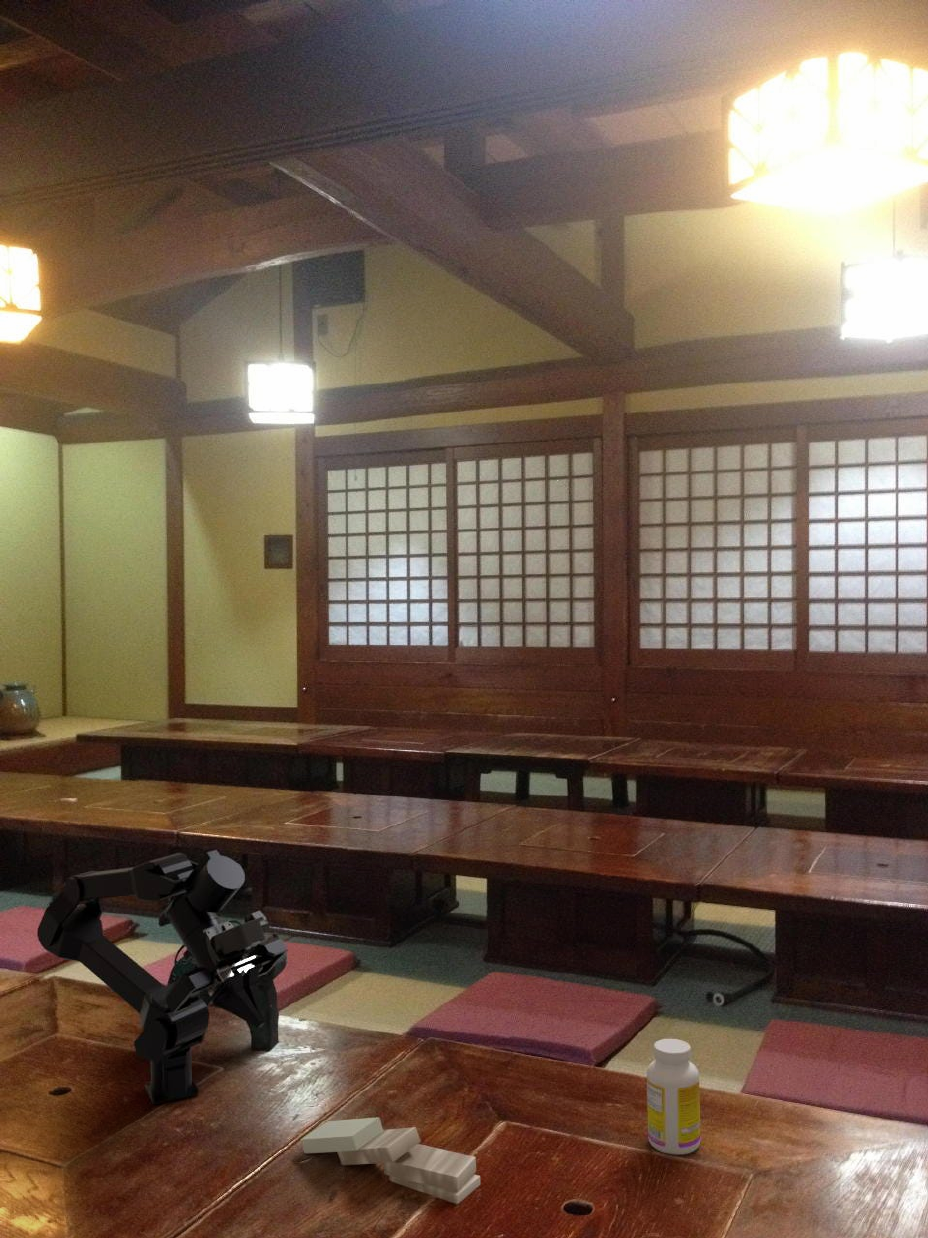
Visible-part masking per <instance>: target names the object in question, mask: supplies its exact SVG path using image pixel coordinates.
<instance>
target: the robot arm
mask: <svg viewBox="0 0 928 1238" xmlns="http://www.w3.org/2000/svg"><path fill="white" fill-rule="evenodd" d="M245 875H246V874H245V870H244V869H243V868H242V866H241V864H239V863H237V862H236V860H234V859H232V858H230V857H228V856H226V855H221V854H220V852H218V850H217V849H213V850H210V851H207V852H204V854H203V855H202V856H201V858H200V861H199V862H195V861H192V860H190V859H189V858H188V856H187V854H185V853H183V852H177V853H173V854H170V855H166V856H162V857H160V858H159V857H158V858H157V859H156V858H155V859H152V860H149V861H145V862H143V863H141V864H138V865H136V866H134V867H133V866H132V867H125V868H118V869H111V870H103V871H102V870H99V871H96V870H90V871H88V872H83V873H79V874H76V875H73V876H70V878H69V879H67V880H66V881H65V883H64V885H63V887H62V890H61V892H60V893H59V894H58V895H57V896H56V897H55V898H54V900H53V901H52V902H51V903H50V904H49V905H48V906H47V907H46V909H45V910H44V912H43V915H42V918H41V920H40V922H39V925H38V927H37V931H36V932H37V938H38V942H39V943H40V945H41V946H42V948H43V949H44V950H46V951H47V952H49V953H50V954H52V955H54V956H56V957H57V958H59V959H63V960H68V961H73V962H79V963H81V964H82V965H83V966H84V967H86V969H88V970H89V971H90V972H91V973H93V974H94V975H95V976H96V977H97V978H98V979H99V980H101V981H102V982H103V983H104V984H105V985H106V986H107V987H109V988H110V989H111V990H112V991H113V992H115V993H116V994H117V995H118V996H119V997H120V998H122V999H123V1000H124V1001H125V1002H126V1003H127V1004H128V1005H129V1006H131V1008H133V1009H134V1010H135V1011H136V1012H137V1013H138V1014H139V1019H140V1024H141V1030H142V1032H141V1033H140V1034H139V1035H138V1036H137V1038H136V1039H135V1040H133V1045H134V1049H135V1052H136V1056H137V1057H138V1058H140V1059H144V1060H147V1061H150V1082H147V1083H145V1084H144V1088H145V1090H146V1093H147V1094H148V1097H149V1098H150V1100H151V1103H152V1104H153V1105H158V1104H163V1103H167V1102H172V1101H176V1100H177V1101H178V1100H181V1099H185V1098H191V1097H194V1096H195V1097H196V1096H198V1095H199V1094H200V1091H199V1088H198V1086H197V1085H196V1083H195V1082H194V1080H193V1078H192V1073H193V1072H192V1048H193V1047H194V1046H196V1045H198V1044H202V1043H203V1042H204V1039H205V1036H206V1032H207V1030H208V1027H209V1020H210V1010H209V1008H208V1006H207V1005H206V1004H205V1002H204V1001H203V1000H202V999H201V998H199V996H200V995H201V994H200V993H199V992H202V991H204V990H206V989H207V990H208V991H209V992H208V993H209V995H210V996H211V997H210V998H209V999H208V1000H207V1001H206V1003H207V1004H208V1005H210V1004H214V1005H216V1006H218V1007H220V1008H219V1009H222V1010H224V1011H227V1012H228V1013H230V1014H232V1015H234V1016H236V1017H238V1018H239V1019H240V1020H241V1019H242V1020H243V1021H245V1023H246V1022H248V1023H250V1024H251V1025H253V1026H255V1027H256V1028H259V1027H261V1026H262V1025H263V1024H264V1023H265V1019H264V1015H263V1010H262V1006H261V1001H260V998H259V992H258V985H257V980H258V977H259V976H261V975H264V974H266V973H267V972H269V971H270V970H271V969H272V968H273V967H274V966H275V964H276V963H277V962H278V961H279V960H280V959H281V958H282V957H283V955H284V954H285V953H286V952H287V953H288V951H289V949H288V948H287V946H286V944H285V943H284V941H283V940H282V939H281V938H280V937H279V938H275V937H273V938H271V939H269V940H266V936H265V933H269V931H270V923H269V922H268V918H267V917H266V916H265V915H264V914H263V913H262V911H261V910H258V911H255V912H252V913H249V914H247V915H245V916H244V923H242V924H241V925H240V924H238V925H237V926H234V925H233V924H232V923H230V922H228V921H229V920H227V921H224V922H222V921H221V920H220V919H219V917H218V915H217V913H219V912H220V911H222V910H223V909H224V908H225V907H226V905H227V904H228V903H229V901H230V900H232V898H233V897H234V896H235V894H236V893H237V892H238V890H240V888H241V887H242V886H243V884H244V883H245V880H246V877H245ZM125 896H126V897H127V896H131V897H135V898H136V900H139V901H145V902H152V903H156V902H158V901H163V900H164V899H165V900H166V899H169V898H171V897H174V896H175V897H174V899H173V900H172V901H171V902H170V903H168V904H164V905H163V906H162V905H161V907H160V910H161V911H160V915H159V917H158V926H159V927H165V926H167V925H171V926H172V928H173V929H174V930H175V932H176V934H177V935H178V937H179V939H180V940H181V942H182V943H183V944H184V945H185V948H186V949H185V951H184V953H183V954H182V955H183V956H184V957H185V959H186V960H188V959H191V958H193V959H194V961H195V962H196V964H197V966H198V967H199V968H197V969H195V970H192V971H190V972H187V973H185V974H182V975H181V976H180V978H179V979H178V980H177V981H176V982H175V983H172V984H170V985H168V986H167V985H164V984H162V983H161V982H160V981H159V980H158V979H156V978H155V977H154V976H153V975H152V974H150V972H149V971H147V970H146V969H145V968H143V967H142V966H141V965H140V964H139V963H137V962H136V961H135V960H133V958H132V957H130V956H129V955H128V954H127V953H125V952H124V951H123V950H122V949H121V948H119V947H118V946H117V945H115V943H113V942H112V941H111V940H110V939H108V938H107V937H106V936H105V935H104V927H103V922H102V920H101V917H102V915H103V913H104V910H105V909H104V905H103V902H102V901H103V900H102V899H108V898H116V897H125ZM84 901H85V903H83V904H82V903H81V904H80V902H84ZM264 940H266V941H264ZM258 941H260V942H261V941H264V942H261V943H259V944H257V945H256V947H255V948H254V949H253V950H252V951H251V952H250V953H249V955H248V956H247V957H246V958H243V955H244V954H246V953H247V952H248V951H249V950H250V949H251V948H250V946H251V944H253V943H255V942H258ZM235 968H236V970H234V969H235ZM233 970H234V971H233ZM218 1007H217V1008H218Z"/></svg>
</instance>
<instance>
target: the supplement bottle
mask: <svg viewBox="0 0 928 1238" xmlns="http://www.w3.org/2000/svg"><path fill="white" fill-rule="evenodd" d="M653 1056H654V1058H655V1060H653V1061H652V1062H650V1063H649V1065H648V1067H647V1070H646V1099H647V1102H646V1103H647V1104H646V1106H647V1136H648V1137H647V1138H648V1141H649V1143H650V1145H651V1146H652V1147H653V1148H654V1149H655V1150H657V1151H659V1152H662V1153H664V1154H669V1155H681V1156H682V1155H686V1154H687V1155H688V1154H690V1153H693V1152H694V1151H696V1150H697V1149H698V1148H699V1147H700V1143H701V1106H700V1105H701V1103H700V1102H701V1100H700V1074H699V1073H700V1072H699V1070H698V1068H697V1066H696V1065H695V1064H694V1063H692V1061H690V1060H691V1057H692V1049H691V1045H690V1044H689V1043H688V1042H687V1041H684V1040H682V1039H676V1038H664V1039H660V1040H657V1041H656V1042H654V1043H653Z"/></svg>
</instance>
